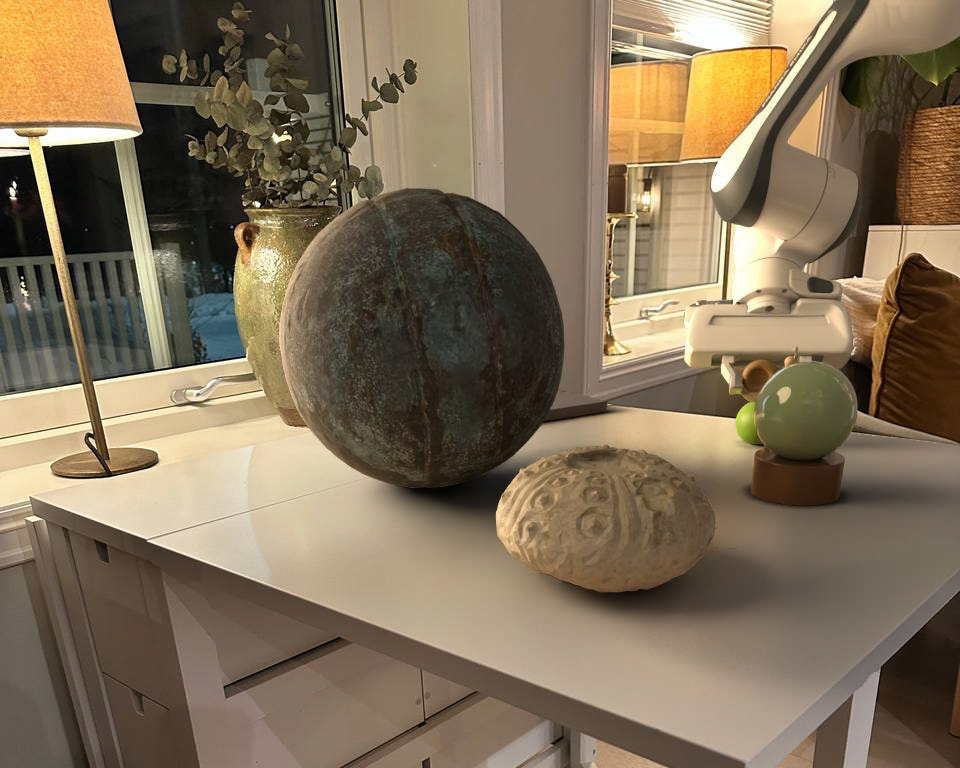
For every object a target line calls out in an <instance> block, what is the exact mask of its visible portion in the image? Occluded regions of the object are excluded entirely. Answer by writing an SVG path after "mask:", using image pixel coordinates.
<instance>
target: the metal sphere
mask: <svg viewBox="0 0 960 768" xmlns="http://www.w3.org/2000/svg"><path fill="white" fill-rule="evenodd" d="M278 344H279V350H280V357H281V364H282V368H283V374H284V377H285V378H284V379H285V380H286V384H287V387H288V390H289V392H290V395H291V398H292V401H293V403H294V406H295V408H296V410H297V413H298V414H299V416H300V417H301V419H302V420H303V422H304V424H305V425H306V427H307V428H308V429H309V431H311V433H312V434H313V436H315V438H316V439H318V441H319V442H320V443H321V444H322V445H323V446H324V448H325V449H327V450H328V451H329V452H330V453H331V454H333V456H335V457H336V458H337V459H339V460H340V461H342V462H343V463H344V464H346V465H347V466H348V467H350V468H351V469H353V470H355V471H357V472H359V473H360V474H362V475H364V476H366V477H368V478H372V479H374V480H377V481H379V482H383V483H386V484H389V485H393V486H398V487H402V488H407V489H416V488H426V489H437V488H444V487H451V486H455V485H458V484H463V483H465V482H469V481H472V480H474V479H477V478H480V477H481V476H484V475H485V474H486V473H489V472H491V471H492V470H494V469H497V468H498V467H500V466H502V464H504V463H506V462H507V461H508V460H510V459H512V458H513V457H514V456H515V455H516V454H517V453H518V452H519V451H520V450H521V449H522V448H523V447H524V446H525V445H526V444H527V443H528V442H529V441H530V440H531V439H532V437H533V436H534V435H535V434H536V433H537V431H538V430H539V428H540V427H541V426H542V424H543V423H544V422H545V421H544V419H545V418H546V416H547V414H548V412H549V410H550V409H551V407H552V405H553V402H554V400H555V397H556V394H557V391H558V389H559V387H560V384H561V380H562V375H563V366H564V361H565V360H564V359H565V358H564V357H565V326H564V318H563V313H562V309H561V306H560V302H559V299H558V296H557V292H556V287H555V285H554V282H553V279H552V277H551V275H550V273H549V271H548V268H547V266H546V265H545V263H544V261H543V259H542V258H541V255H540V254H539V253H538V251H537V249H536V248H535V247H534V246H533V244H532V243H531V242H530V241H529V240H528V238H527V237H526V236H525V235H524V234H523V232H521V231H520V229H518V228H517V227H516V226H515V225H514V224H513V223H512V222H511V221H510V220H509V219H508V218H506V217H505V216H504V215H503V214H502V213H501V212H500V211H498V210H495V209H493V208H492V207H489V206H488V205H486V204H485V203H482V202H480V201H478V200H477V199H475V198H472V197H470V196H467V195H463V194H458V193H454V192H444V191H443V190H440V189H439V188H425V187H424V188H423V187H413V188H411V187H410V188H409V187H406V188H402V189H397V190H392V191H389V192H384V193H381V194H378V195H376V196H373V197H372V198H370V199H366V200H359V201H358V202H356V203H355V204H353V205H352V206H351V207H350V208H348V209H347V210H345V211H343V212H342V213H340V214H339V215H338V216H336V217H335V218H334V219H332V221H331V222H329V223H328V224H327V225H326V226H325V227H324V228H322V229H321V230H320V231H319V232H318V233H317V234H316V235H315V237H314V238H313V239H312V240H311V242H310V243H309V244H308V245H307V247H306V249H305V250H304V252H303V253H302V255H301V257H300V258H299V260H298V262H297V264H296V266H295V267H294V270H293V272H292V275H291V277H290V279H289V281H288V284H287V287H286V291H285V294H284V297H283V302H282V306H281V312H280V319H279V323H278Z"/></svg>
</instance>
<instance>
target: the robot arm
mask: <svg viewBox="0 0 960 768" xmlns="http://www.w3.org/2000/svg"><path fill="white" fill-rule="evenodd" d="M958 37H960V0H834V1H833V2H832V4H831V5H830V6H829V8H828V9H827V10H826V11H825V13H824V14H823V15H822V16H821V18H820V19H819V21H818V22H817V23H816V25H815V26H814V28H813V29H812V30H811V31H810V33H809V35H808V36H807V37H806V39H805V40H804V42H803V43H802V44H801V46H800V47H799V49H798V50H797V52H796V53H795V54H794V56H793V57H792V59H791V61H790V62H789V63H788V65H787V66H786V68H785V69H784V71H783V72H782V74H781V75H780V76H779V78H778V79H777V80H776V82H775V83H774V85H773V86H772V88H771V90H770V91H769V93H768V94H767V96H766V97H765V98H764V100H763V101H762V103H760V106H759V107H758V108H757V110H756V111H755V112H754V114H753V115H752V116H751V118H750V120H749V121H748V122H747V123H746V124H745V126H744V127H743V128H742V129H741V130H740V131H739V133H738V134H737V135H736V136H735V137H734V139H733V140H732V141H731V142H730V144H729V145H728V146H727V147H726V148H725V150H724V151H723V152H722V154H721V156H720V157H719V160H718V161H717V163H716V165H715V167H714V169H713V172H712V174H711V178H710V180H709V181H710V182H709V192H710V196H711V201H712V204H713V206H714V208H715V211H716V212H717V214H718V216H719V217H720V220H721V221H723V222H724V223H729V224H732V225H736V229H735V234H734V244H733V263H734V266H735V267H734V268H735V272H734V275H733V277H732V278H733V279H732V294H731V295H732V296H731V297H732V298H731V299H717V300H707V299H700V300H697V301H696V303H691V304H689V305H688V306H687V307H686V308H685V310H684V315H683V325H684V326H685V328H686V329H687V333H686V340H685V348H684V362H685V364H687V366H688V367H690V368H716V369H717V368H720V374H721V375H722V377H723V379H724V380H725V381H726V382H727V384H728V385H729V386H728V394H729V395H741V393H742V391H743V388H744V386H743V383H742V382H743V376H742V375H737V373H736V371H734V368H736V369H737V368H738V369H739V368H742V369H745V368H746V367H747V366H748V365H749V364H750V363H751V362H753V361H756V360H761V359H764V360H768V361H771V362H772V363H774V364H775V365H776V366H777V368H778V369H782V368H784V367H785V365H784V361H785V359H786V358H787V357H789V356H793V357H794V356H795V351H794V350H793V348H794V347H795V346H797V347H798V351H797V352H796V356H795V358H796V360H797V361H796V362H795V363H798V362H804V361H816V362H822V363H825V364H828V365H831V366H833V367H835V368H836V369H841V368H844V367H845V366H846V364H848V362H849V361H850V358H851V356H852V354H853V353H852V352H853V348H854V334H853V326H852V321H851V314H850V312H849V309H848V308H847V306H846V305H845V304H844V303H843V302H842V296H843V285H842V283H841V282H839V281H837V280H834V279H829V278H825V277H821V276H817V275H814V274H811V273H808V272H806V271H804V268H805V266H806V265H807V264H808V265H809V264H812V263H815V262H817V261H818V260H820V259H822V258H823V257H825V256H826V255H827V254H829V253H831V252H832V251H834V250H835V249H837V248H838V247H839V246H841V245H843V243H844V242H845V241H846V240H847V239H848V238H849V237H850V236H851V234H853V232H854V230H855V228H856V226H857V224H858V222H859V218H860V214H861V210H862V200H863V199H862V198H863V189H862V184H861V183H862V182H861V181H860V177H859V175H858V174H857V172H855V171H852V170H851V169H849V168H847V167H844V166H842V165H840V164H838V163H836V162H833V161H832V160H829V159H827V158H825V157H820V156H817V155H815V154H813V153H810V152H808V151H805V150H804V149H801V148H798V147H796V146H794V145H792V144H790V143H788V141H789V139H790V138H791V136H792V135H793V133H794V131H795V130H797V127H798V126H799V125H800V123H801V122H802V121H803V119H804V118H805V116H806V115H807V114H808V112H809V111H810V110H811V108H812V106H813V105H814V104H815V103H816V101H817V100H818V98H819V97H820V95H821V94H822V93H823V91H824V90H825V89H826V87H827V86H828V84H829V83H830V81H831V80H832V79H833V78H834V77H835V76H836V75H837V73H839V72H840V71H841V70H842V69H843V68H845V67H846V66H848V65H850V64H851V63H853V62H856V61H858V60H861V59H866V58H870V57H871V58H872V57H878V56H904V55H905V56H906V55H907V56H908V55H917V54H922V53H927V52H930V51H934V50H936V49H939V48H942V47H943V46H945V45H948V44H950V43H952V42H953V41H955V40H957V38H958Z"/></svg>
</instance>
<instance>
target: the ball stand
mask: <svg viewBox="0 0 960 768" xmlns="http://www.w3.org/2000/svg"><path fill="white" fill-rule="evenodd" d="M778 370H779V371H778V372H776V373H775V374H774V375H773V376H772V377H771V378H769V379H768V381H767V382H766V383H765V384H764V386H763V387H762V389H761V390H760V393H759V395H758V397H757V400H756V403H755V408H754V424H755V428H756V431H757V434H758V436H759V438H760V440H761V441H762V443H763V446H764V447H763V448H760V449H758V450H756V451H754V454H753V463H752V472H751V473H752V474H751V482H750V493H751V495H753V497H756V498H757V499H760V500H764V501H766V502H769V503H770V502H771V503H774V504H780V505H788V506H820V505H826V504H831V503H833V502H835V501H837V500H839V498H840V495H841V490H842V489H841V488H842V482H843V475H844V470H845V464H846V463H845V462H846V457H845V456H844V455H843V454H841V453H839V452H837V450H838V449H840V447H841V446H843V444H845V442H846V441H847V440H848V439H849V437H850V435H851V433H852V432H853V430H854V428H855V425H856V422H857V419H858V409H859V406H858V404H859V403H858V398H857V393H856V390H855V388H854V385H853V384H852V382H851V381H850V380H849V378H848V377H847V375H845V374H844V373H843V371H841V370H839V368H835V367H833V366H831V365H828V364H825V363H822V362H816V361H804V362H798V363H794V364H791V365H789V366H786V367H784V368H780V369H778Z"/></svg>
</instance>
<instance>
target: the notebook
mask: <svg viewBox="0 0 960 768" xmlns="http://www.w3.org/2000/svg"><path fill="white" fill-rule="evenodd" d="M607 410H608V401H607V400H604V399H601V398H595V397H593V396H592V397H591V396H588V395H583V394H579V393H575V392H571V391H569V390H564V389H559V388H558V391H557V394H556V397H555V400H554V402H553V405H552V407H551V409H550V410H549V412H548V414H547V416H546V418H545V419H544V421H543V422H547V421H548V422H549V421H554V420H560V419H567V418H573V417H581V416H586V415H591V414H592V415H593V414H599V413H605V412H607Z"/></svg>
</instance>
